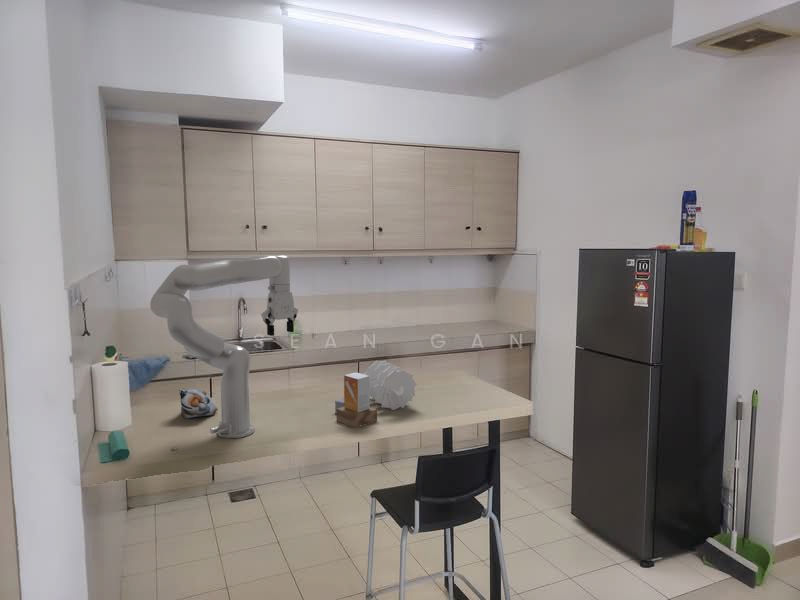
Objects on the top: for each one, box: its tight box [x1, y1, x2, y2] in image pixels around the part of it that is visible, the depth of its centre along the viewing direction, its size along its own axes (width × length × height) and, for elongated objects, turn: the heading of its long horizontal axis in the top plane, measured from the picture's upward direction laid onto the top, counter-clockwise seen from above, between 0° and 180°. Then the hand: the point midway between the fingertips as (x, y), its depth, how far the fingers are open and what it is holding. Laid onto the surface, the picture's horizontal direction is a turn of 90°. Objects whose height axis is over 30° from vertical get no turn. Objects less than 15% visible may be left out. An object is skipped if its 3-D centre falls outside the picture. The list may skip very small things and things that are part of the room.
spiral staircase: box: [363, 360, 417, 411], centre depth 228 cm, size 18×18×25 cm
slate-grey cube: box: [334, 397, 344, 414], centre depth 217 cm, size 5×5×5 cm
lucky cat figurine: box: [179, 388, 219, 419], centre depth 211 cm, size 15×12×14 cm
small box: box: [343, 372, 371, 412], centre depth 206 cm, size 8×6×13 cm
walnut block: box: [336, 406, 378, 428], centre depth 207 cm, size 11×11×5 cm
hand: (280, 333), depth 205 cm, fingers open, 9 cm apart
